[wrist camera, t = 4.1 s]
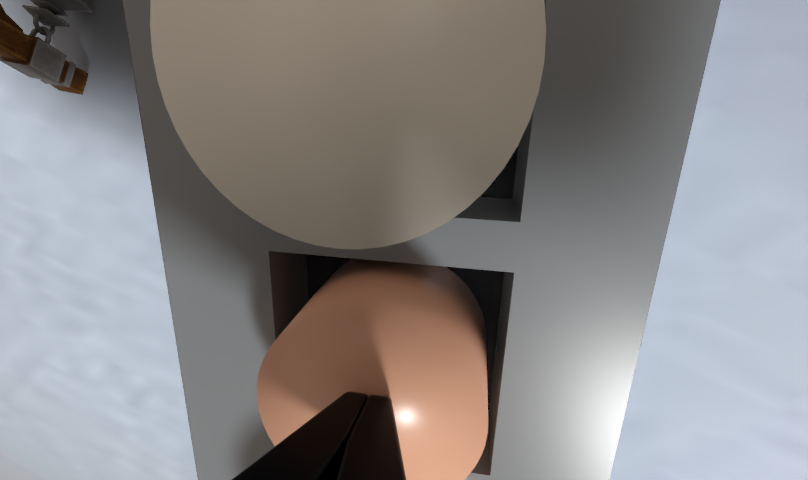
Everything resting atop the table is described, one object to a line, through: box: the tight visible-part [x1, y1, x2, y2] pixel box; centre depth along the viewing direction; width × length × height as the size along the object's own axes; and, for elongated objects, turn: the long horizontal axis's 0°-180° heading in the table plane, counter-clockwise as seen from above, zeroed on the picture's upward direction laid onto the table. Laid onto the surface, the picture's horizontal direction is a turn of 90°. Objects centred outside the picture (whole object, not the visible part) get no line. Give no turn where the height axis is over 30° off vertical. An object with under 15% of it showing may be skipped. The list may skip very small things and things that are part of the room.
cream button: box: [150, 0, 546, 249], centre depth 6 cm, size 4×4×3 cm
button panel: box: [122, 0, 721, 480], centre depth 10 cm, size 10×19×2 cm, turn 178°
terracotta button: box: [257, 258, 488, 480], centre depth 9 cm, size 4×4×3 cm
